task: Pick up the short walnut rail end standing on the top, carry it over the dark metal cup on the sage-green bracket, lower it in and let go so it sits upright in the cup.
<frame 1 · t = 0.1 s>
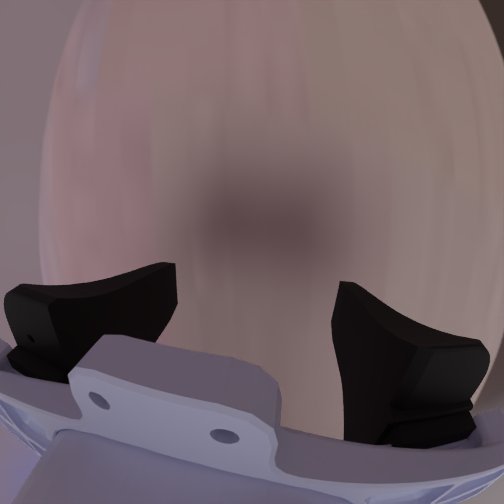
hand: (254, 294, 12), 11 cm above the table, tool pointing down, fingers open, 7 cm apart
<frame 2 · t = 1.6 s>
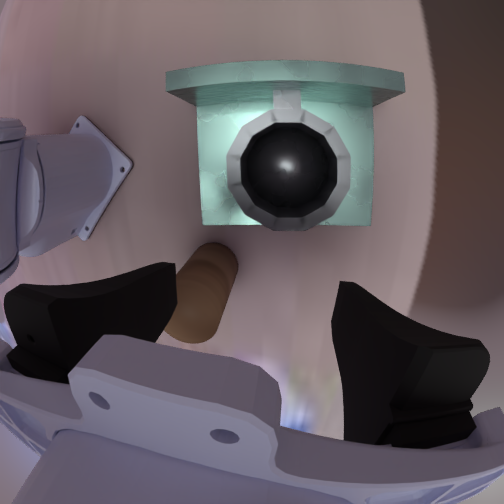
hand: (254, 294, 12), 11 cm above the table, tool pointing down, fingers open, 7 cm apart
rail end: (214, 265, 23), on the table
cup bracket: (287, 166, 20), on the table
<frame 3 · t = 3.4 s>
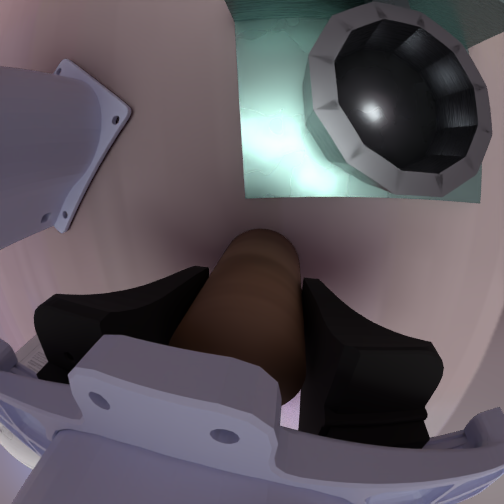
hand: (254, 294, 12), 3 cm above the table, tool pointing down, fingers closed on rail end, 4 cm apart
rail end: (261, 265, 15), on the table, touching gripper
cup bracket: (374, 111, 11), on the table
photo printer: (91, 350, 20), on the table
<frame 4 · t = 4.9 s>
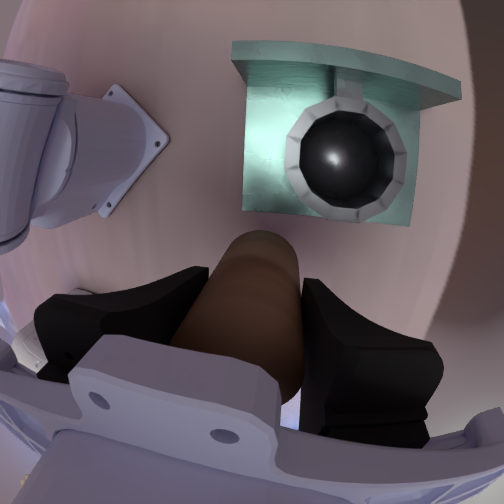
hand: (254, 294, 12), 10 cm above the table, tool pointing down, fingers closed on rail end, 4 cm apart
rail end: (260, 266, 15), point 7 cm above the table, touching gripper
cup bracket: (334, 158, 19), on the table
photo printer: (109, 311, 27), on the table
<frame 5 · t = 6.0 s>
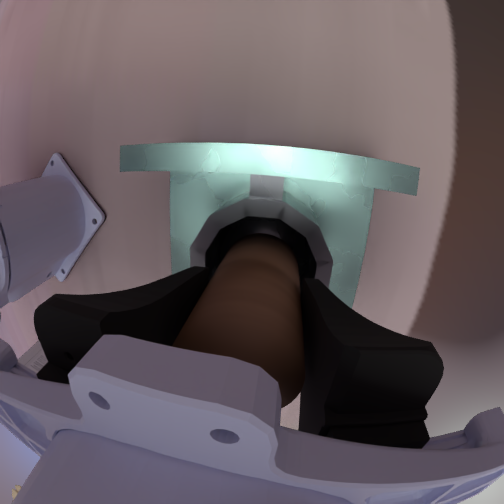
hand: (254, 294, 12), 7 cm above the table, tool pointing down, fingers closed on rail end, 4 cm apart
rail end: (260, 269, 15), point 4 cm above the table, touching gripper
cup bracket: (266, 242, 19), on the table
photo printer: (77, 355, 26), on the table
when the fingers open (6 cm above the table, at t = 6.8 s): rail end stays where it is, resting on cup bracket.
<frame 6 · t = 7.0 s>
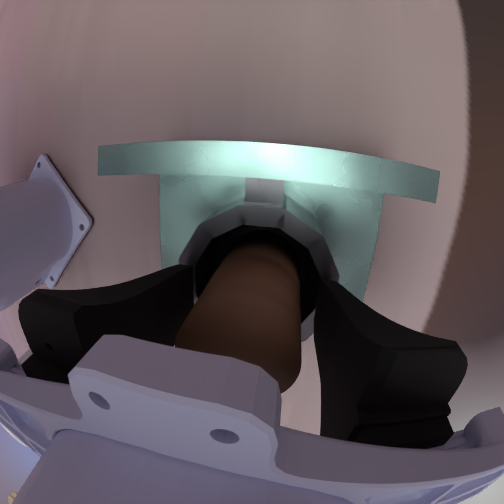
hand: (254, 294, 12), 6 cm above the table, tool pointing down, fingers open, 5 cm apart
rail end: (262, 264, 16), point 2 cm above the table, touching cup bracket
cup bracket: (265, 250, 17), on the table
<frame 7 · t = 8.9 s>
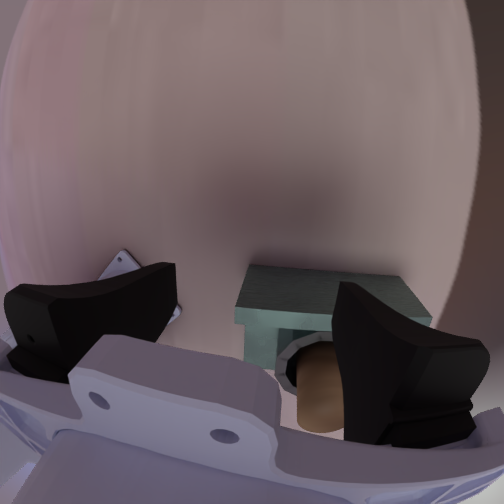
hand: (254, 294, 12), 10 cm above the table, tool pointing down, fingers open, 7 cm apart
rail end: (318, 345, 23), point 2 cm above the table, touching cup bracket
cup bracket: (317, 332, 24), on the table
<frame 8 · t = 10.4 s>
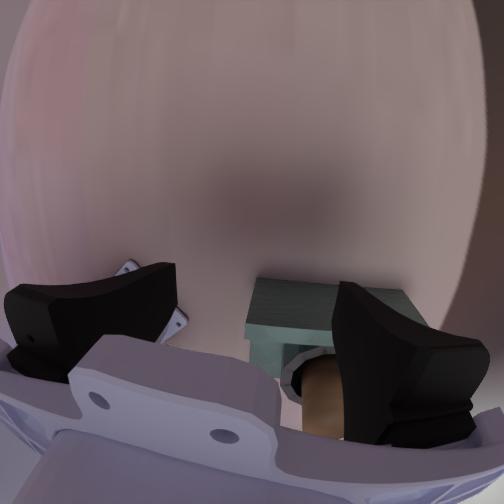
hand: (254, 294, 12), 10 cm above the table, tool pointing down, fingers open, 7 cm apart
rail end: (322, 356, 23), point 2 cm above the table, touching cup bracket
cup bracket: (321, 343, 24), on the table
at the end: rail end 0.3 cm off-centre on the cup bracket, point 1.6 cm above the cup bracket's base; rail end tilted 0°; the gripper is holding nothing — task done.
